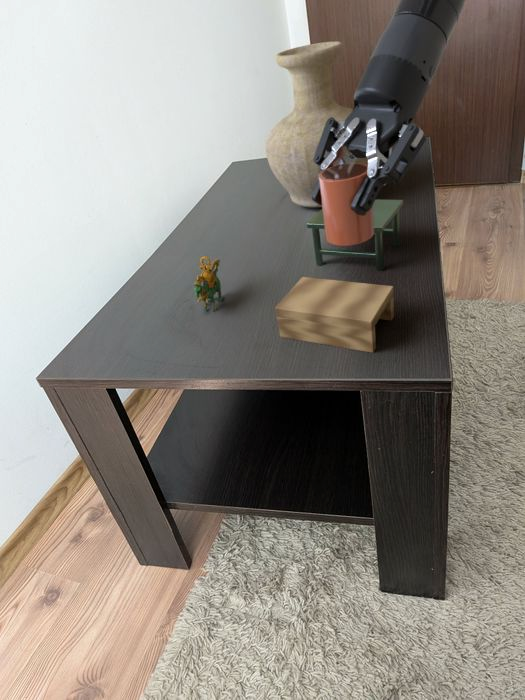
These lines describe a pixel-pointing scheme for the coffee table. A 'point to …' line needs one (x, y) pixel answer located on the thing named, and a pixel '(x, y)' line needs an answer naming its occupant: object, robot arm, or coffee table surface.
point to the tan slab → (335, 312)
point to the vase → (305, 119)
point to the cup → (344, 205)
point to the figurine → (208, 283)
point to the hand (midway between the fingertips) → (337, 207)
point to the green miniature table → (382, 217)
